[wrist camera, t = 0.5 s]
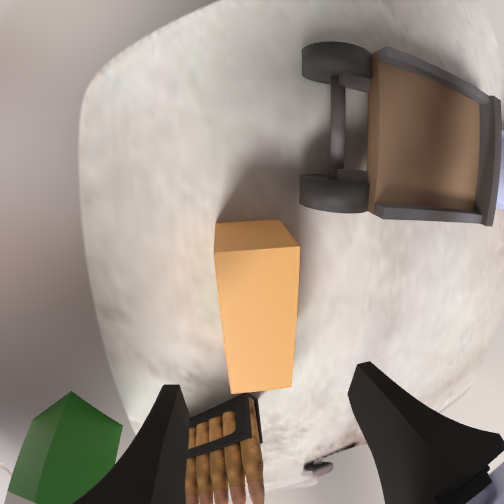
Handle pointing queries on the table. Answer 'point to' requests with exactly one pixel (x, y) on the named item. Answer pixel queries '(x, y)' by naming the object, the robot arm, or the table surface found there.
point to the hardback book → (64, 454)
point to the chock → (257, 302)
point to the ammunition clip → (225, 453)
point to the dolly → (407, 139)
